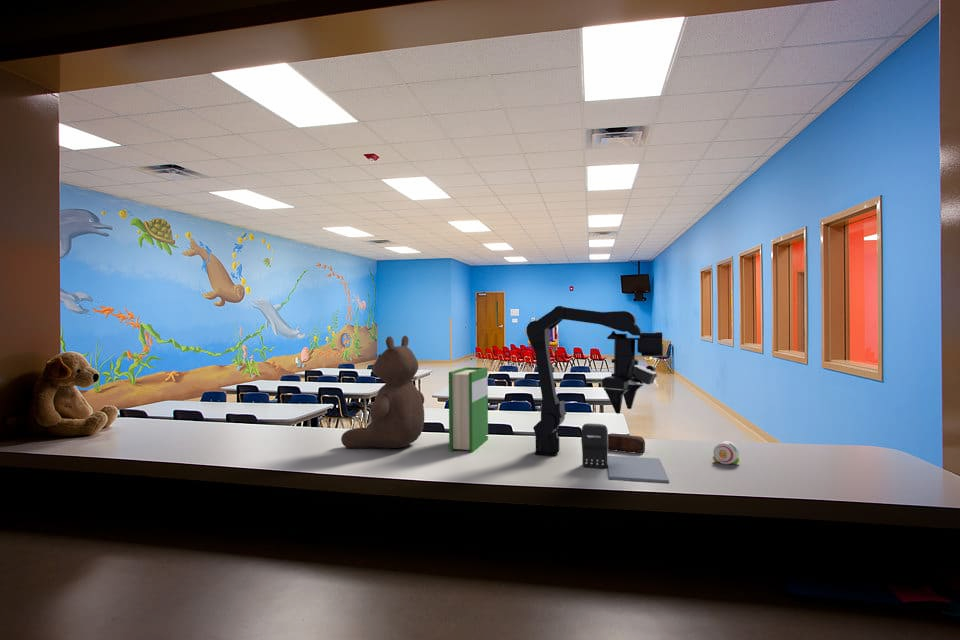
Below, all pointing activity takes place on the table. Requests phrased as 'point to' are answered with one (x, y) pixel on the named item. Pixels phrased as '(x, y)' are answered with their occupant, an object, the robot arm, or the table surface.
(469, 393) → the hardback book
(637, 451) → the brick
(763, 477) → the table surface
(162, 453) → the table surface
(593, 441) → the battery charger
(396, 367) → the stuffed bear
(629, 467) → the mat
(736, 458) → the sushi roll
